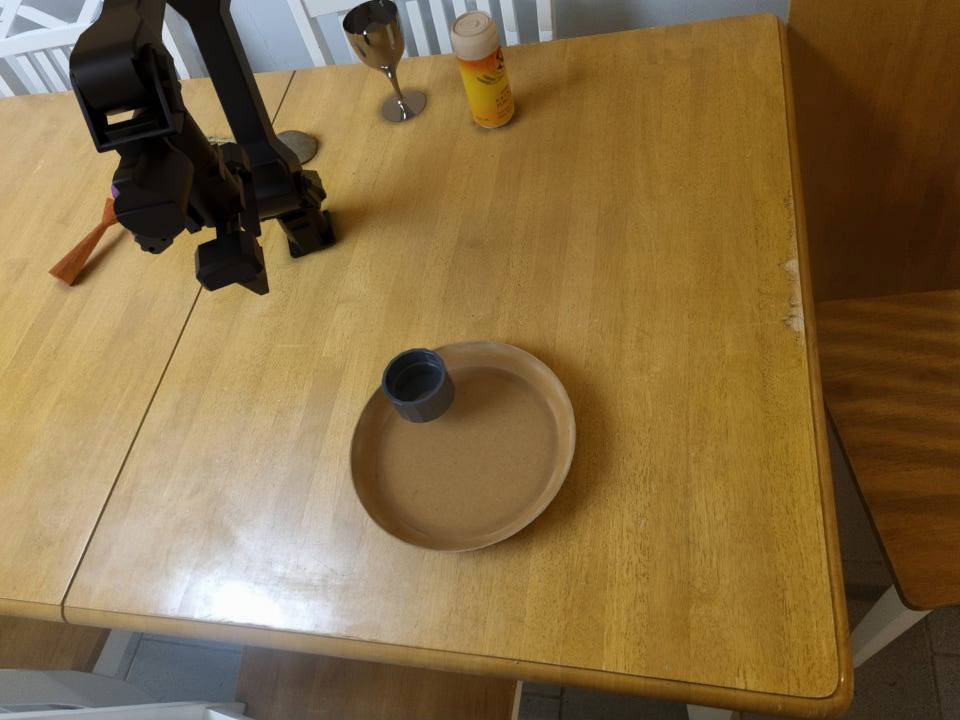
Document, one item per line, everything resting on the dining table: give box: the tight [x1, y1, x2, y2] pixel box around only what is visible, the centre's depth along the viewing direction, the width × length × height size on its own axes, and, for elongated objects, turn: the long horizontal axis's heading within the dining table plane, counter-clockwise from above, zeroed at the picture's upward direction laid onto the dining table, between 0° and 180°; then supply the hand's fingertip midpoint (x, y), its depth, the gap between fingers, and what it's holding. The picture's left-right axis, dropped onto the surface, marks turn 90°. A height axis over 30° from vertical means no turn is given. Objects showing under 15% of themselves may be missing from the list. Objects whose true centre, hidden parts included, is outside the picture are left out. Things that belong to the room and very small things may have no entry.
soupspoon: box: [206, 129, 317, 164], centre depth 114 cm, size 22×3×7 cm
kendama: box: [47, 183, 120, 287], centre depth 109 cm, size 6×6×20 cm
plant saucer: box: [348, 339, 577, 554], centre depth 77 cm, size 24×24×3 cm
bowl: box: [381, 347, 455, 423], centre depth 77 cm, size 7×7×4 cm
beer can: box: [450, 9, 516, 129], centre depth 100 cm, size 6×6×15 cm
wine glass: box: [342, 0, 427, 123], centre depth 106 cm, size 8×8×15 cm
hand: (261, 263), depth 83 cm, fingers open, 9 cm apart
